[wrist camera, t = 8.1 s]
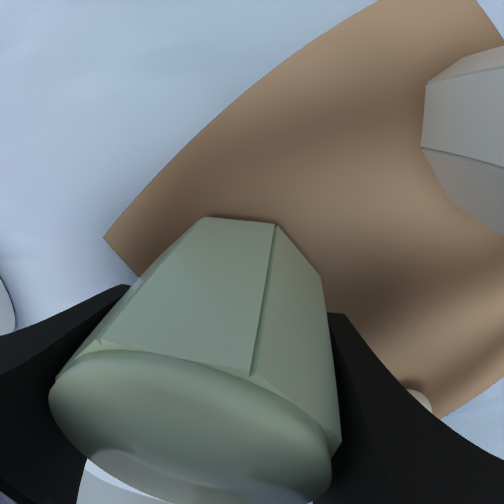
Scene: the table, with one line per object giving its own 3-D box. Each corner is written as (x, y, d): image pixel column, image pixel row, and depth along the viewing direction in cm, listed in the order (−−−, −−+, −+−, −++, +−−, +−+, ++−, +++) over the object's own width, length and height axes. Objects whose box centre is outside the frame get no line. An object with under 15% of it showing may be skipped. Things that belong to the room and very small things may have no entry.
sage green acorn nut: (347, 310, 10) (381, 487, 4) (231, 374, 12) (195, 516, 6) (241, 183, 9) (136, 310, 3) (132, 282, 11) (26, 410, 5)
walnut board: (569, 306, 10) (573, 310, 9) (355, 452, 16) (355, 457, 16) (443, -27, 5) (448, -32, 5) (108, 233, 11) (102, 237, 11)
